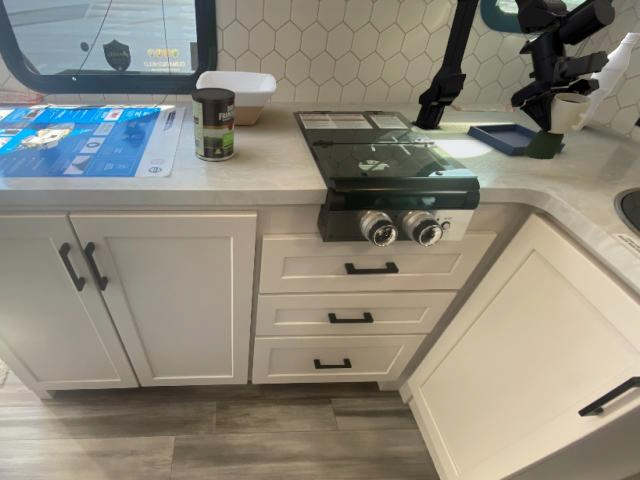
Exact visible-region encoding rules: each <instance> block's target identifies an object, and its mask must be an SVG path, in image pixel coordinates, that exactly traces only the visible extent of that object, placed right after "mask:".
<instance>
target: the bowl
mask: <svg viewBox="0 0 640 480" xmlns="http://www.w3.org/2000/svg"><path fill="white" fill-rule="evenodd" d="M195 87H196V89H200V88H223V89H228V90H231V91H233V92H234V93H235V106H234V126H253V125H255V123H256V122H257V120H258V118H259V117H260V115H261V113H262V111H263V109H264V107H265V105H266V104H267V103H268V102H269V100H270V99H272V97H273V96H274V95H275V93H276V92H277V90H278V87H277V81H276V77H274V76H273V75H272V74H271V73H264V72H251V71H235V70H234V71H231V70H230V71H229V70H228V71H227V70H206V71H204V72H202V73H201V74H200V75H199V78H198V79H197V81H196V84H195Z"/></svg>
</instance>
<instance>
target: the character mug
mask: <svg viewBox="0 0 640 480" xmlns="http://www.w3.org/2000/svg"><path fill="white" fill-rule="evenodd" d="M592 102H593V101H592V99H591V98H589V97H587V96H583V95H579V94H573V93H558V94H556V95H555V97H554V99H553V101H552V102H551V121H552V125H551V130H550V131H548V132H544V131H543V130H542V129H541V128H540V127H539V126H538V125H537V128H539V129H540V130H538V131H536V132H537V134H536V135H535V136H534V137H533V139H532V140H531V141H530V143H529V144H528V146H527V147H526V148H525V150H524V154H525V155H524V156H526V157H528V158H529V159H536V160H553V159H554V157H555V156H556V154H557V153H558V152H557V150H558V148H559V146H560V144H561V142H562V143H563V139H564V137H565V134H569V133H571V132H573V131H574V132H580V131H581V130H582V129H583V128H584V127H585V126H586V125H585V123H586V122H587V120H588V118H589V116H588V115H586V111H587V110H588V108H589V107H590V105H591V103H592ZM584 125H585V126H584Z"/></svg>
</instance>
